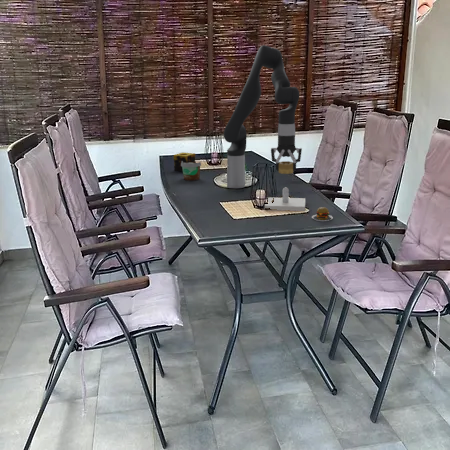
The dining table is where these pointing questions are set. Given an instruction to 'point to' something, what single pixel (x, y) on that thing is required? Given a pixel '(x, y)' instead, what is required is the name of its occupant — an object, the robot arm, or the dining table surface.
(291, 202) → the post stand
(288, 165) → the ring
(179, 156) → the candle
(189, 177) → the food container
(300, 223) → the dining table surface
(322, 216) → the hamburger
